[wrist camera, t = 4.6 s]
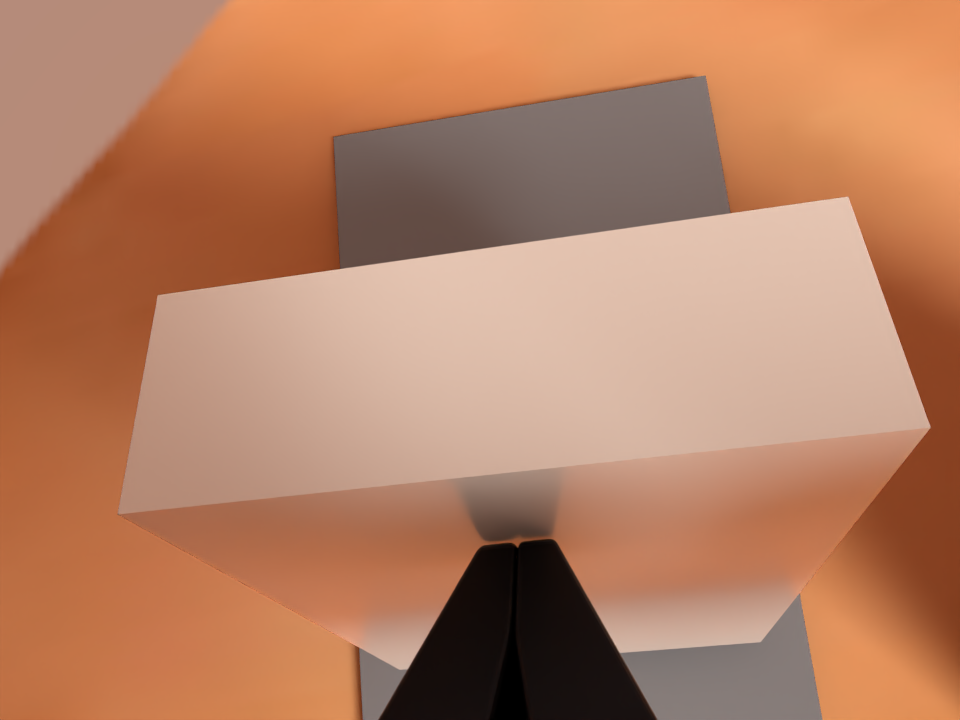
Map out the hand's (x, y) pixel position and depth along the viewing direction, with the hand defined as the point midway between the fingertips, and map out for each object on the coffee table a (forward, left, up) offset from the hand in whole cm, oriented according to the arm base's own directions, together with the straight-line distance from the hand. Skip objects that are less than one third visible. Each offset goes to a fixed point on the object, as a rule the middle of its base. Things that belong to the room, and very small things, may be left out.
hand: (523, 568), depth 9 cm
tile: (-1, 0, -8) cm, 8 cm away
